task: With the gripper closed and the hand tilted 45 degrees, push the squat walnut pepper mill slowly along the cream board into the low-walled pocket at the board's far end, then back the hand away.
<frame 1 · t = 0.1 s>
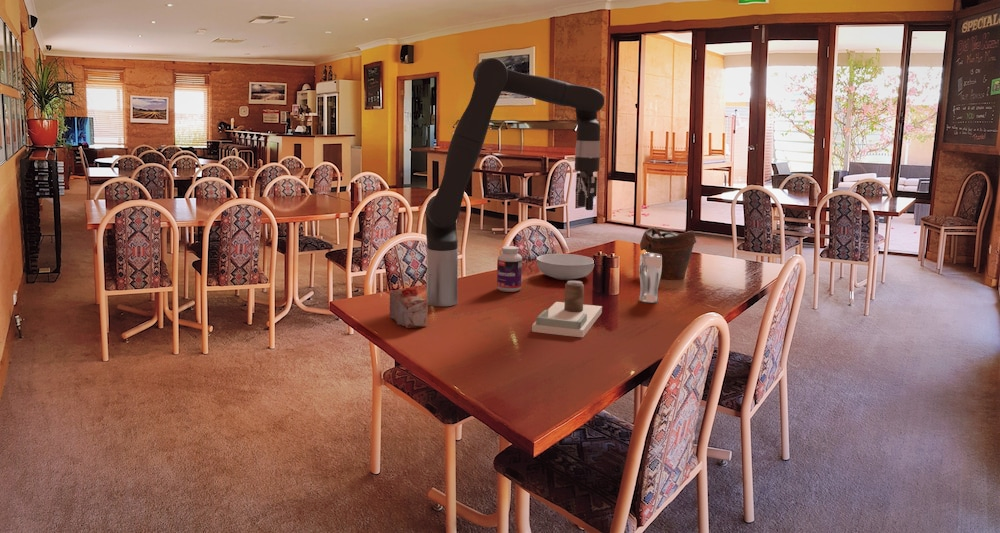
hand: (585, 208, 227), 29 cm above the table, tool pointing down, fingers open, 8 cm apart
serving bowl: (565, 278, 262), on the table
board: (568, 321, 206), on the table
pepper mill: (573, 309, 212), point 2 cm above the table, touching board
brown bucket: (666, 276, 268), on the table
beer glass: (648, 301, 231), on the table
grey stone block: (408, 324, 203), on the table
pill bottle: (509, 290, 242), on the table
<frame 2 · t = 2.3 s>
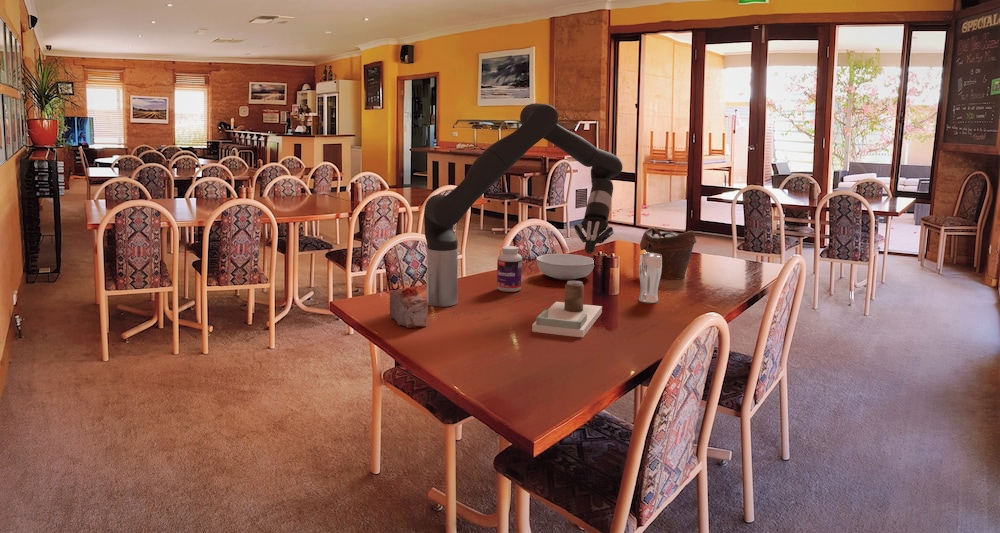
hand: (588, 252, 225), 16 cm above the table, tool tilted 45°, fingers closed
nothing on the table moved.
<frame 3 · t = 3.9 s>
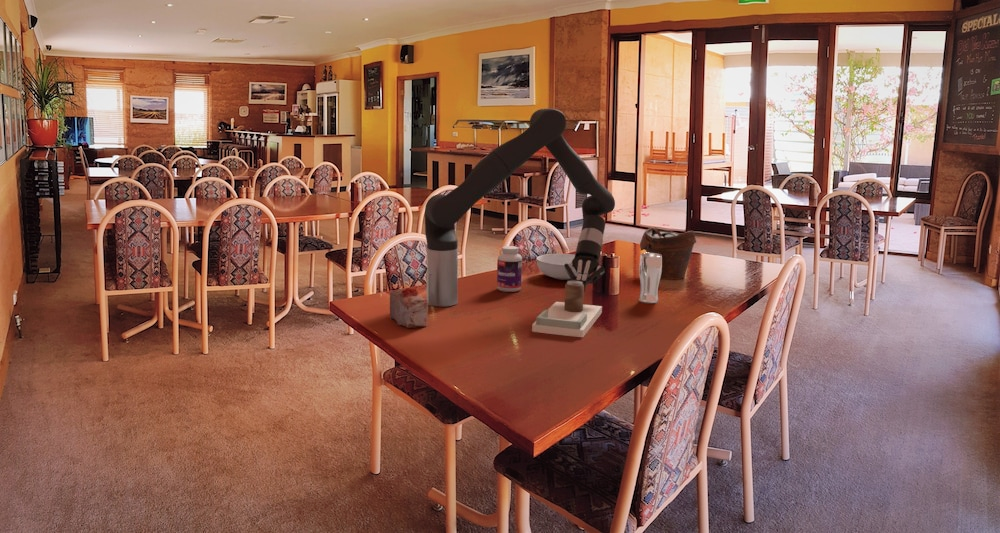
hand: (579, 293, 217), 5 cm above the table, tool tilted 45°, fingers closed
nothing on the table moved.
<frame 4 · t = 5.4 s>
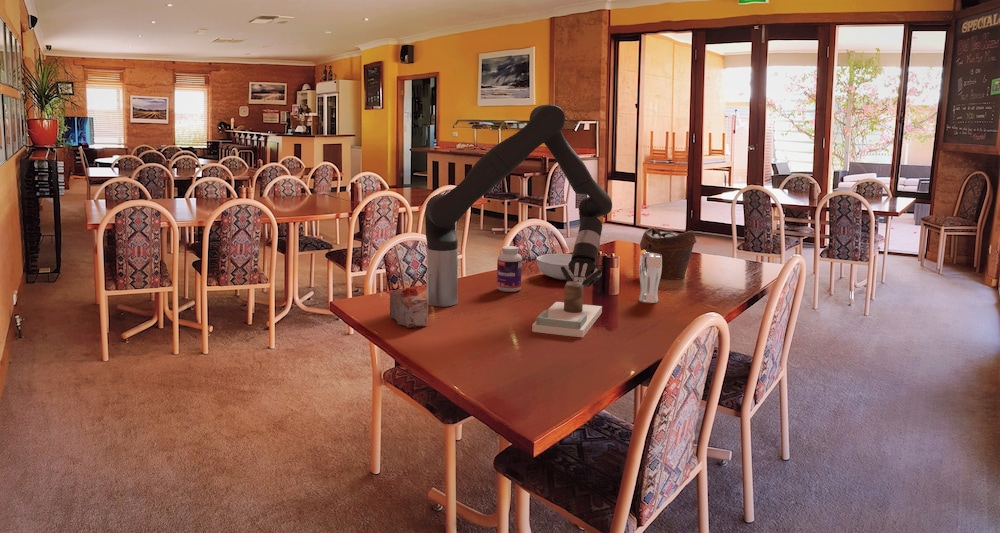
hand: (576, 296, 213), 5 cm above the table, tool tilted 45°, fingers closed
nothing on the table moved.
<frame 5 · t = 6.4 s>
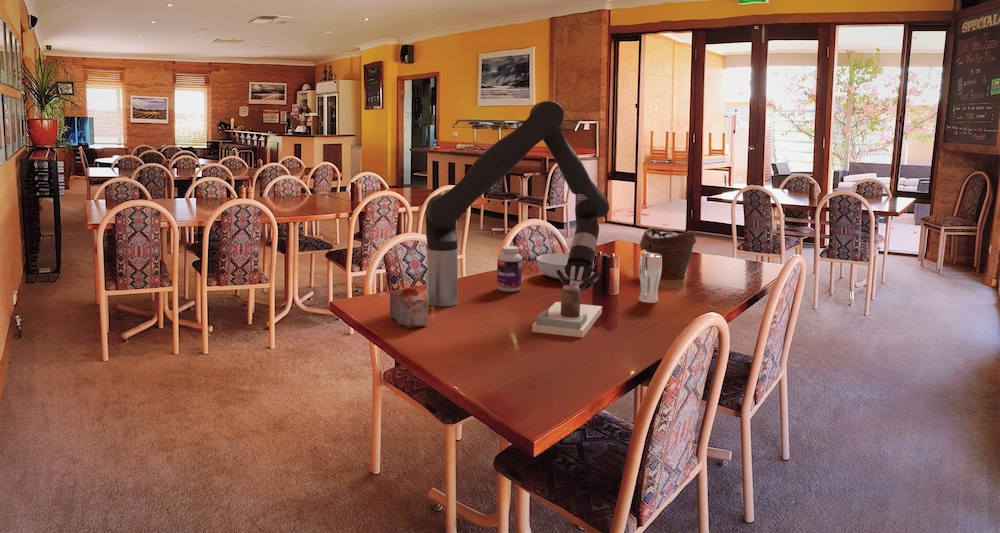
hand: (572, 300, 209), 5 cm above the table, tool tilted 45°, fingers closed
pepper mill: (570, 314, 206), point 2 cm above the table, touching gripper
everything else where it was.
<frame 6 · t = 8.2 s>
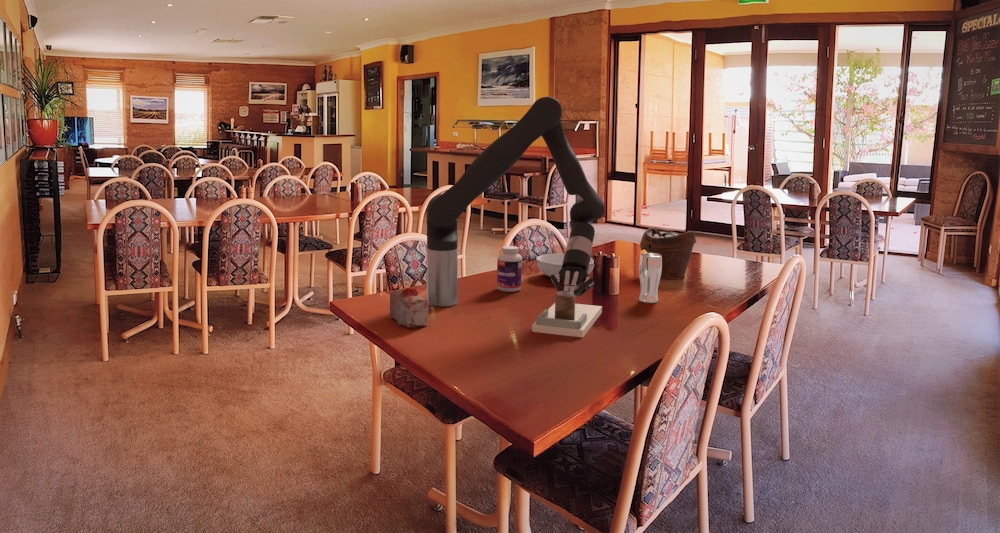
hand: (566, 306, 202), 5 cm above the table, tool tilted 45°, fingers closed
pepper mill: (564, 321, 199), point 2 cm above the table, touching board, gripper
everything else where it was.
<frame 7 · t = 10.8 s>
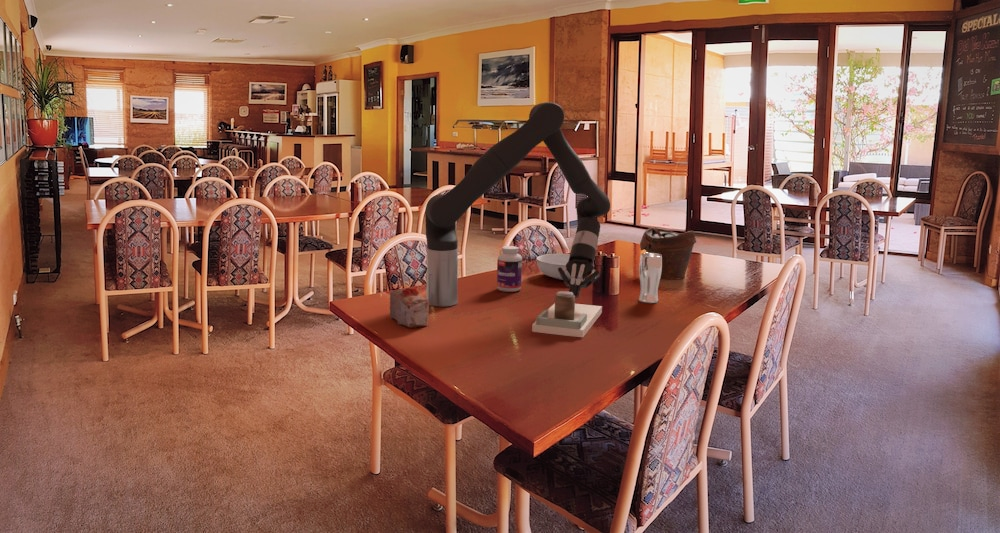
hand: (573, 297, 211), 5 cm above the table, tool tilted 45°, fingers closed
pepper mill: (564, 322, 199), point 2 cm above the table, touching board
everything else where it was.
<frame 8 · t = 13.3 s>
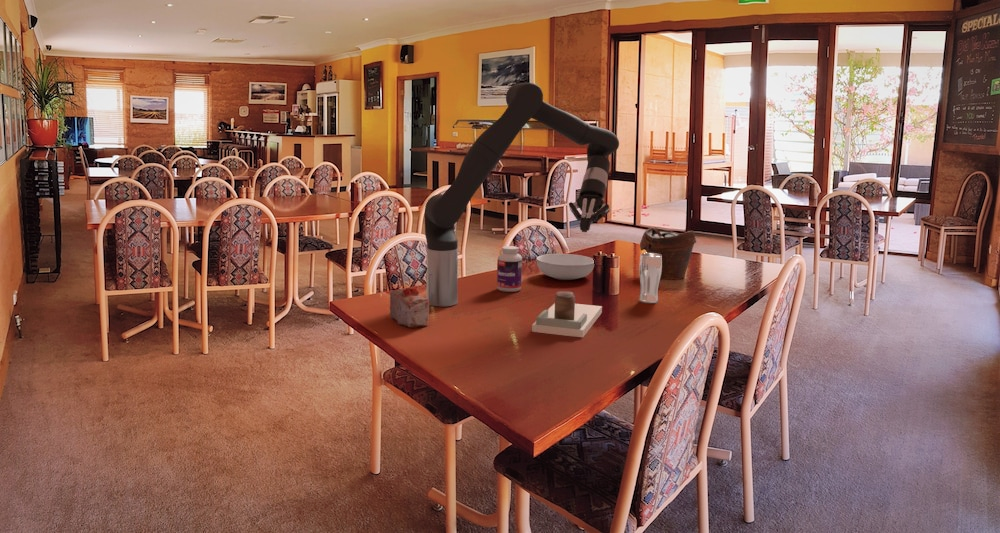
hand: (584, 230, 216), 24 cm above the table, tool tilted 45°, fingers closed
nothing on the table moved.
at the end: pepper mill inside the target area on the board (0.5 cm from its centre), point 2.0 cm above the board's base; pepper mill tilted 0°; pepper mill moved 13.6 cm from its start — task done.
